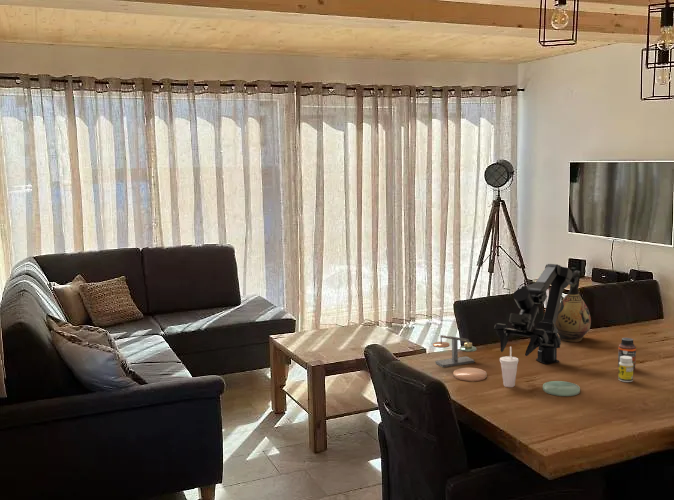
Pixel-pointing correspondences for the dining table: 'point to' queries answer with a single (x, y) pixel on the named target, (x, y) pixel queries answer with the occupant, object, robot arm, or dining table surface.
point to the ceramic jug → (573, 314)
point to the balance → (455, 352)
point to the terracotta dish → (470, 374)
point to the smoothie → (509, 369)
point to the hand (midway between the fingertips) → (513, 353)
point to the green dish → (561, 388)
